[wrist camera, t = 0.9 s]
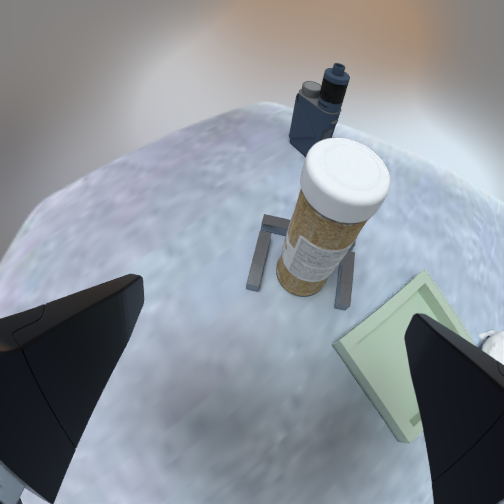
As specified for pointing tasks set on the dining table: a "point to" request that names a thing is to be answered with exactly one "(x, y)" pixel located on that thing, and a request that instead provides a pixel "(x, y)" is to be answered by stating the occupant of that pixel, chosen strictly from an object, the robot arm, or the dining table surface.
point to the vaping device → (318, 109)
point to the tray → (395, 352)
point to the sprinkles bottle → (330, 211)
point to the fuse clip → (281, 228)
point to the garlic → (494, 344)
